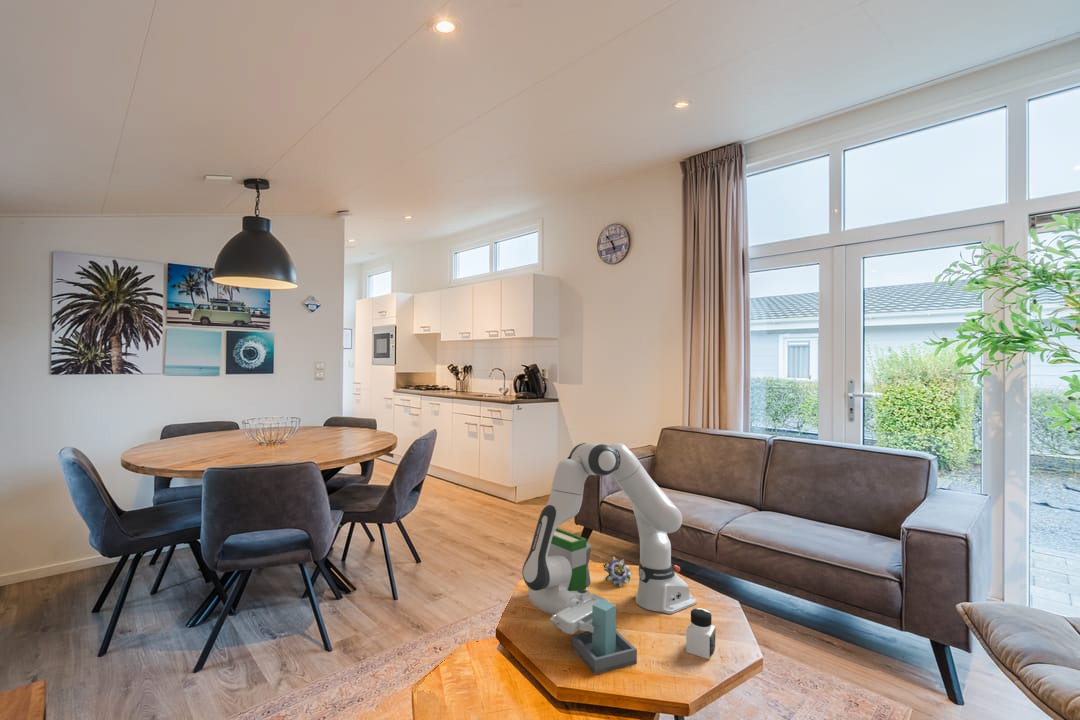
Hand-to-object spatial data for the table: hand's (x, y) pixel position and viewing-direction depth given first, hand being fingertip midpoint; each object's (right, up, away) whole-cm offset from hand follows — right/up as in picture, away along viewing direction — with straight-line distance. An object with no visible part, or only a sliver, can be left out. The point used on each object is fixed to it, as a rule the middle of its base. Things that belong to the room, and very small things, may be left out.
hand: (604, 623), depth 147 cm
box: (0, -10, 0) cm, 10 cm away
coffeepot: (-4, -11, +51) cm, 52 cm away
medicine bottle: (+30, -10, +3) cm, 32 cm away
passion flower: (+12, -11, +51) cm, 53 cm away
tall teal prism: (0, -9, 0) cm, 9 cm away
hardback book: (-11, -10, +35) cm, 39 cm away
